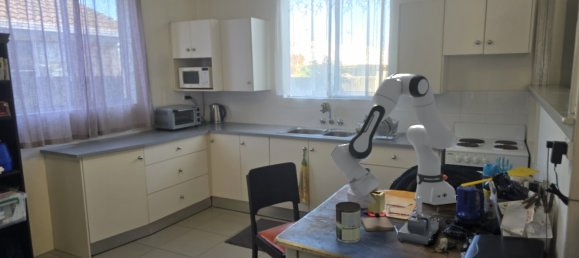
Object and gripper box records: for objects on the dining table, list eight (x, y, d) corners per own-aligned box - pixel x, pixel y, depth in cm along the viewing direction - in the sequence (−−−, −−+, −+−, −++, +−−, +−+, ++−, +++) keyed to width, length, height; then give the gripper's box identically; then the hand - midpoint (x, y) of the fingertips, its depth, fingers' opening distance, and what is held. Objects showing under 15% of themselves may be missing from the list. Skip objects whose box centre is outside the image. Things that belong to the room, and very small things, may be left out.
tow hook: (367, 212, 201) (368, 218, 192) (367, 186, 200) (368, 191, 191) (385, 212, 200) (386, 219, 191) (385, 186, 198) (386, 192, 189)
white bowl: (341, 205, 210) (341, 190, 209) (359, 198, 220) (359, 184, 219) (365, 213, 199) (365, 197, 198) (383, 205, 209) (383, 190, 208)
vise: (410, 223, 184) (411, 189, 182) (438, 228, 178) (439, 193, 175) (397, 238, 169) (398, 201, 167) (427, 244, 163) (428, 206, 160)
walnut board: (386, 219, 190) (386, 217, 190) (394, 229, 178) (394, 227, 178) (360, 220, 190) (360, 218, 189) (366, 231, 178) (366, 228, 178)
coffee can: (331, 239, 171) (330, 206, 169) (344, 230, 179) (343, 199, 176) (352, 245, 164) (352, 211, 162) (365, 236, 172) (365, 204, 170)
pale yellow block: (373, 207, 186) (373, 190, 185) (384, 209, 183) (384, 192, 182) (368, 210, 182) (368, 193, 181) (380, 213, 179) (380, 195, 178)
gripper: (352, 177, 175) (374, 203, 171) (370, 167, 192) (390, 190, 188) (343, 186, 178) (364, 211, 175) (361, 175, 195) (381, 198, 192)
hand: (378, 200), depth 182 cm, fingers closed on pale yellow block, 5 cm apart
